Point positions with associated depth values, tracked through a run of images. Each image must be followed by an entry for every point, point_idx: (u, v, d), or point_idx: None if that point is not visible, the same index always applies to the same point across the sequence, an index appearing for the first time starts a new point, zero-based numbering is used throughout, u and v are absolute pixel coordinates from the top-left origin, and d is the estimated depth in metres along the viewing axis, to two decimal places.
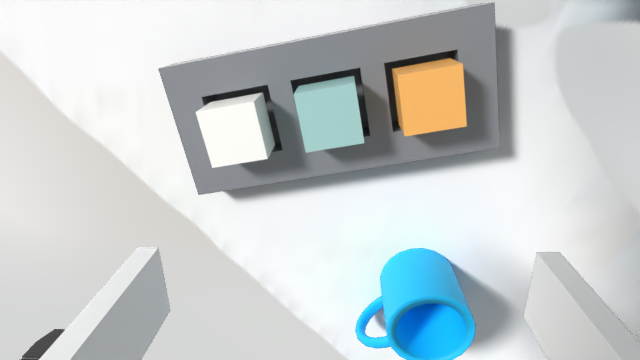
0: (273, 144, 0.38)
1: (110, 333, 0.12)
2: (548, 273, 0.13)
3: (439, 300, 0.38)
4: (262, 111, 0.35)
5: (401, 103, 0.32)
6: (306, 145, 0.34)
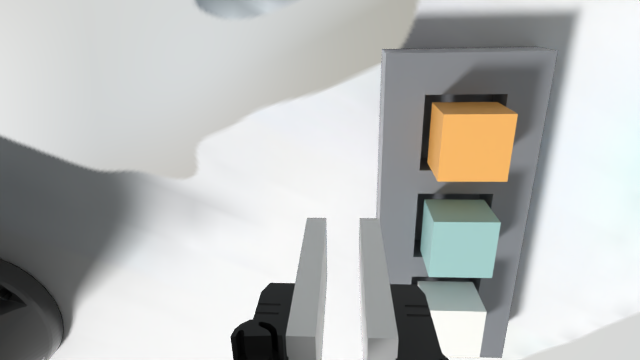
0: (472, 286, 0.37)
1: (321, 285, 0.14)
2: (360, 234, 0.16)
3: None
4: (436, 294, 0.36)
5: (468, 180, 0.30)
6: (484, 275, 0.32)
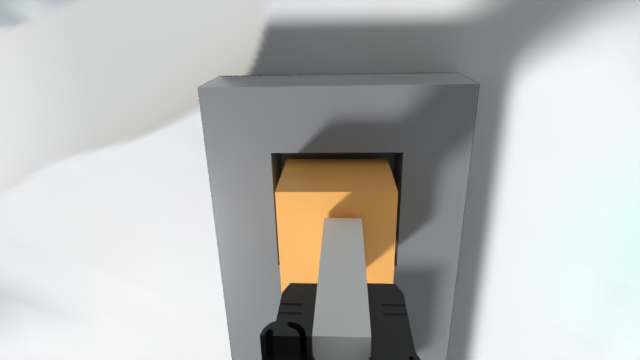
0: None
1: None
2: (342, 233, 0.16)
3: None
4: None
5: None
6: None
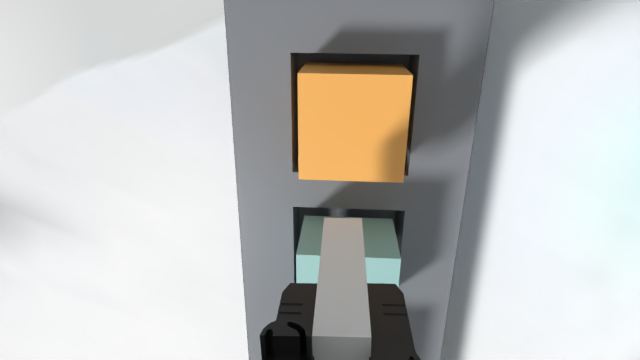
0: None
1: None
2: (342, 233, 0.16)
3: None
4: None
5: (345, 179, 0.19)
6: None
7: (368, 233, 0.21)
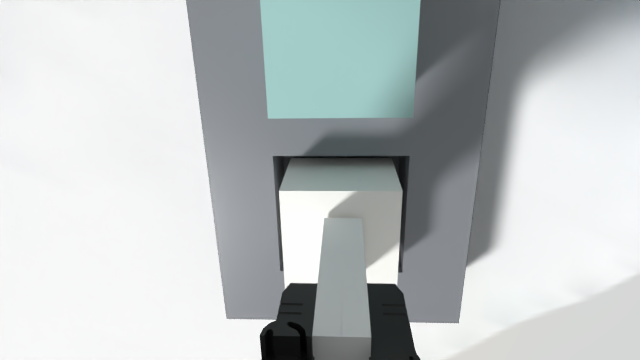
0: (388, 162, 0.19)
1: None
2: (342, 233, 0.16)
3: None
4: (315, 171, 0.18)
5: None
6: (395, 112, 0.14)
7: None
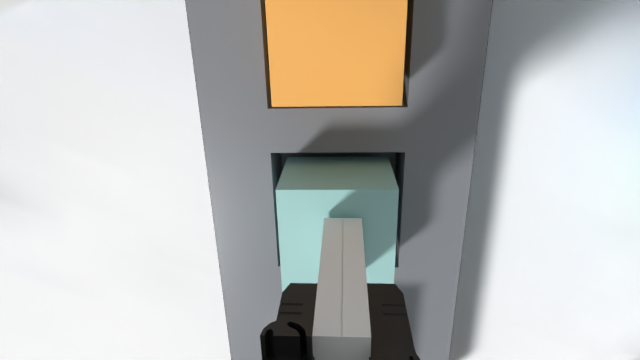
0: None
1: None
2: (342, 233, 0.16)
3: None
4: None
5: (330, 104, 0.16)
6: None
7: (360, 169, 0.18)
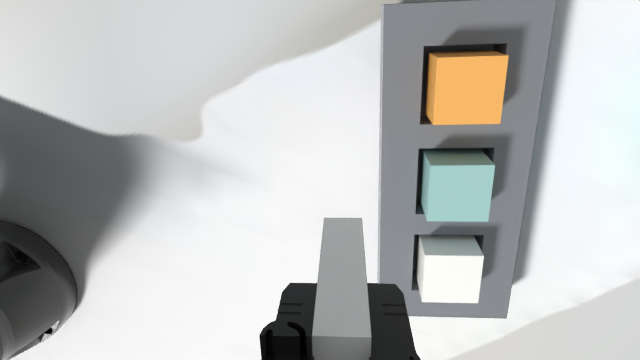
0: (471, 236, 0.38)
1: None
2: (342, 233, 0.16)
3: None
4: (436, 242, 0.37)
5: (462, 123, 0.31)
6: (480, 219, 0.34)
7: (469, 155, 0.34)
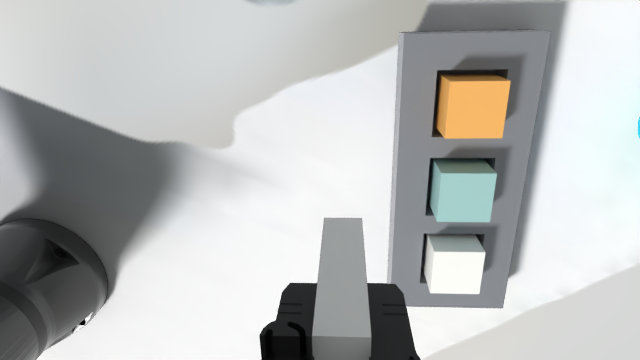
0: (473, 235, 0.43)
1: None
2: (342, 233, 0.16)
3: None
4: (442, 240, 0.42)
5: (470, 137, 0.36)
6: (483, 220, 0.39)
7: (473, 164, 0.39)
